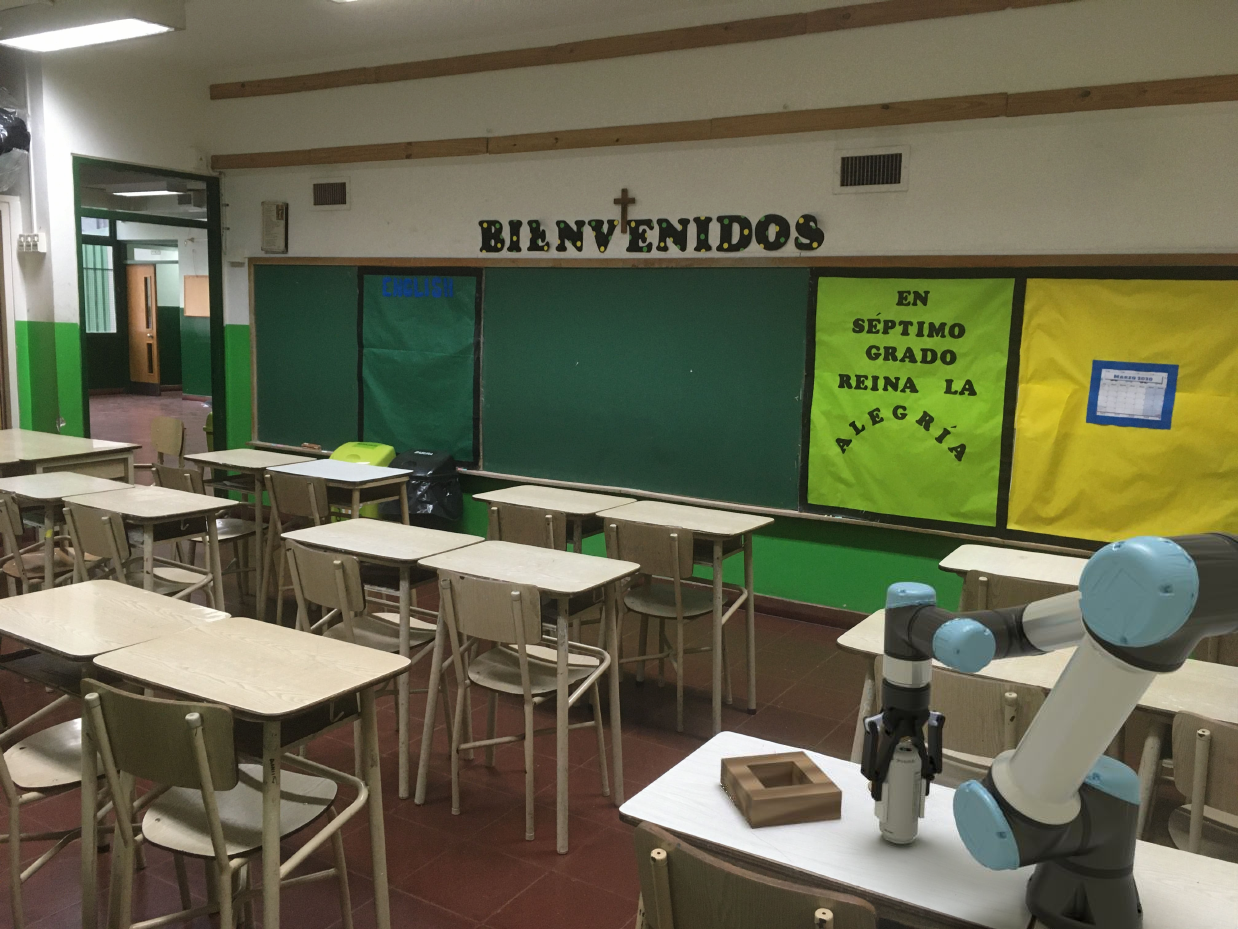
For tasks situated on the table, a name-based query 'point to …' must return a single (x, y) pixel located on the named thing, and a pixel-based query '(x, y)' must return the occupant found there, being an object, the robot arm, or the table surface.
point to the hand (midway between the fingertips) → (899, 816)
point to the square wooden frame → (780, 789)
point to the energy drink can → (902, 795)
